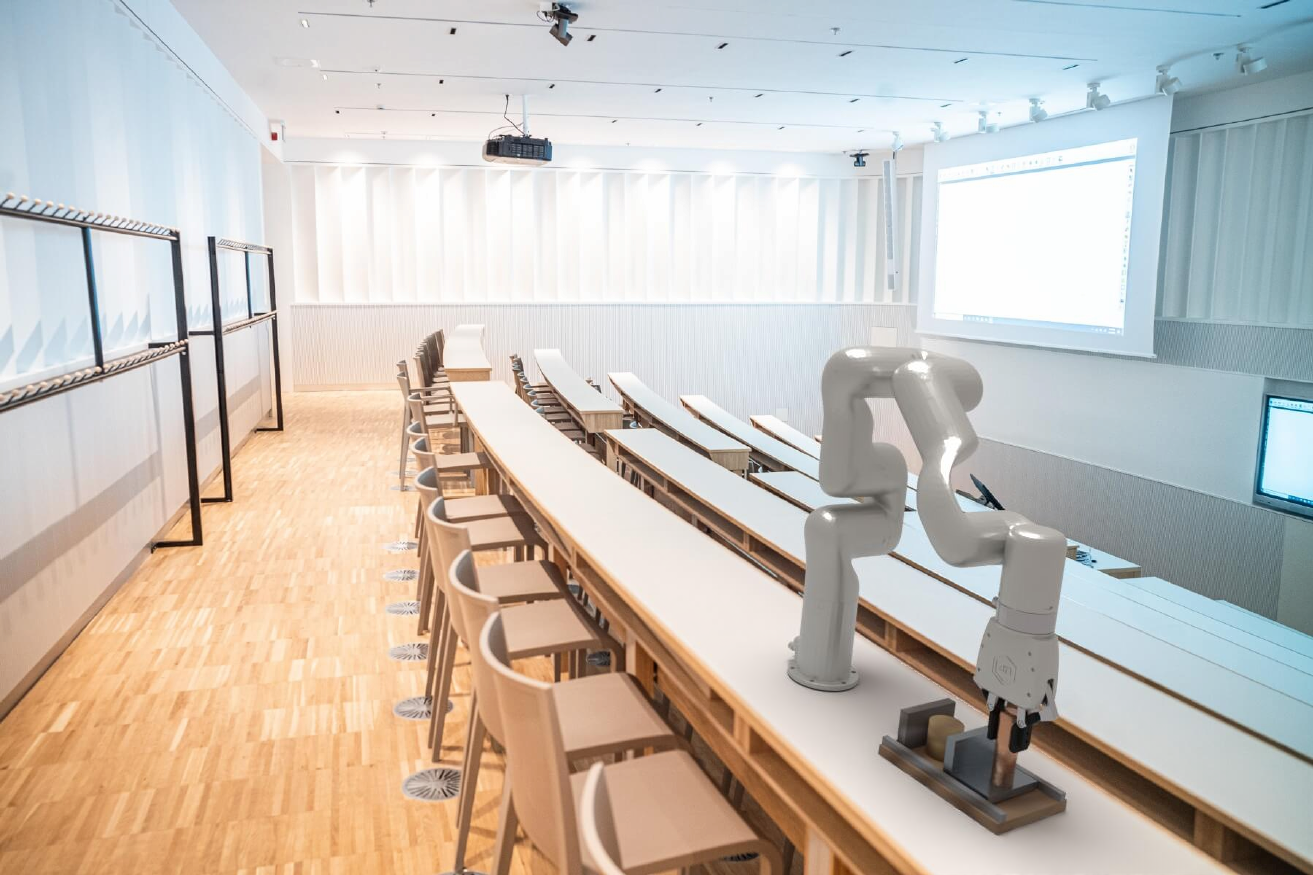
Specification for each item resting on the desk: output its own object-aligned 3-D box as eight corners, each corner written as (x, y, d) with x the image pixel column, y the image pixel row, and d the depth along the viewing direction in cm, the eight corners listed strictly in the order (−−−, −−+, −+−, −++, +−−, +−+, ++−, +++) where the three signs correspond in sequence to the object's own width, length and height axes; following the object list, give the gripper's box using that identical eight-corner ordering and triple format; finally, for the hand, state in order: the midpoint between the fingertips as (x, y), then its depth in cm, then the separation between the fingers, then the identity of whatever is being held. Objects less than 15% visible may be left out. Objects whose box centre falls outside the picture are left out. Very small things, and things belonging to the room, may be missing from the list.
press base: (878, 753, 138) (883, 707, 136) (944, 735, 145) (950, 691, 143) (996, 834, 119) (1003, 782, 118) (1065, 809, 126) (1073, 759, 125)
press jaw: (942, 775, 129) (952, 699, 127) (990, 760, 134) (1001, 687, 132) (987, 805, 123) (998, 726, 121) (1036, 788, 128) (1048, 712, 126)
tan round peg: (918, 749, 137) (922, 718, 136) (941, 742, 139) (946, 712, 138) (943, 765, 132) (947, 733, 132) (967, 758, 135) (971, 727, 134)
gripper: (958, 600, 127) (942, 722, 131) (1060, 644, 114) (1039, 780, 117) (995, 593, 131) (978, 712, 134) (1098, 636, 117) (1077, 767, 120)
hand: (1007, 742), depth 126 cm, fingers closed on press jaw, 3 cm apart
